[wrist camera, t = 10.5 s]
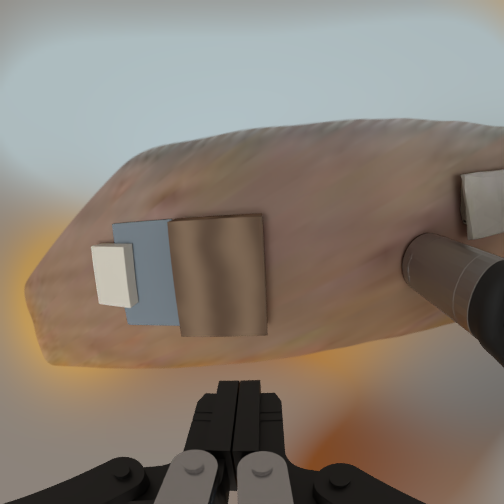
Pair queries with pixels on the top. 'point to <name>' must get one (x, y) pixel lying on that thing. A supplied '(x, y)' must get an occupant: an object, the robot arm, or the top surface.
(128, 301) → the cream thick tile
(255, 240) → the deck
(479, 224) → the packaged product
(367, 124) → the top surface
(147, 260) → the mat
